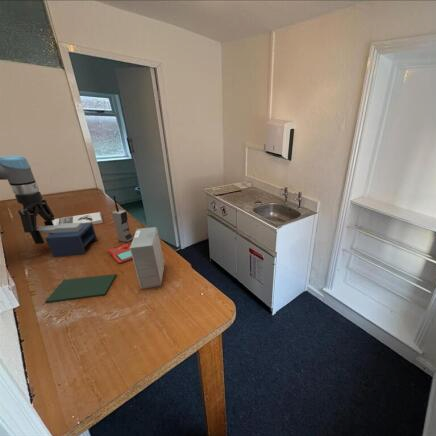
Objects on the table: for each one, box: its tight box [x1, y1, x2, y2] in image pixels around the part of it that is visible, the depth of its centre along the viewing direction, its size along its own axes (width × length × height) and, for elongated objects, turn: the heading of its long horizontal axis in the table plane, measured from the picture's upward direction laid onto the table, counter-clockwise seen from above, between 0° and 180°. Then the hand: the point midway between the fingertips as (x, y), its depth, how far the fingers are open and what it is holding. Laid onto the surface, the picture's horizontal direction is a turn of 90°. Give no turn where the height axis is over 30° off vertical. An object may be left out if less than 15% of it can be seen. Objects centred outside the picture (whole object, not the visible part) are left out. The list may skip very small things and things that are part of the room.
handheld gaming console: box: [107, 242, 133, 265], centre depth 112 cm, size 9×1×15 cm
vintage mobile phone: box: [111, 195, 134, 243], centre depth 119 cm, size 4×5×25 cm
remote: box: [28, 223, 83, 235], centre depth 108 cm, size 18×5×2 cm, turn 107°
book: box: [52, 211, 104, 226], centre depth 136 cm, size 23×14×2 cm, turn 130°
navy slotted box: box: [45, 223, 98, 258], centre depth 112 cm, size 12×14×10 cm
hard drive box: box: [130, 226, 166, 290], centre depth 96 cm, size 16×8×20 cm, turn 22°
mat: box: [44, 273, 118, 304], centre depth 91 cm, size 18×12×1 cm, turn 107°
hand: (46, 238), depth 109 cm, fingers open, 9 cm apart
